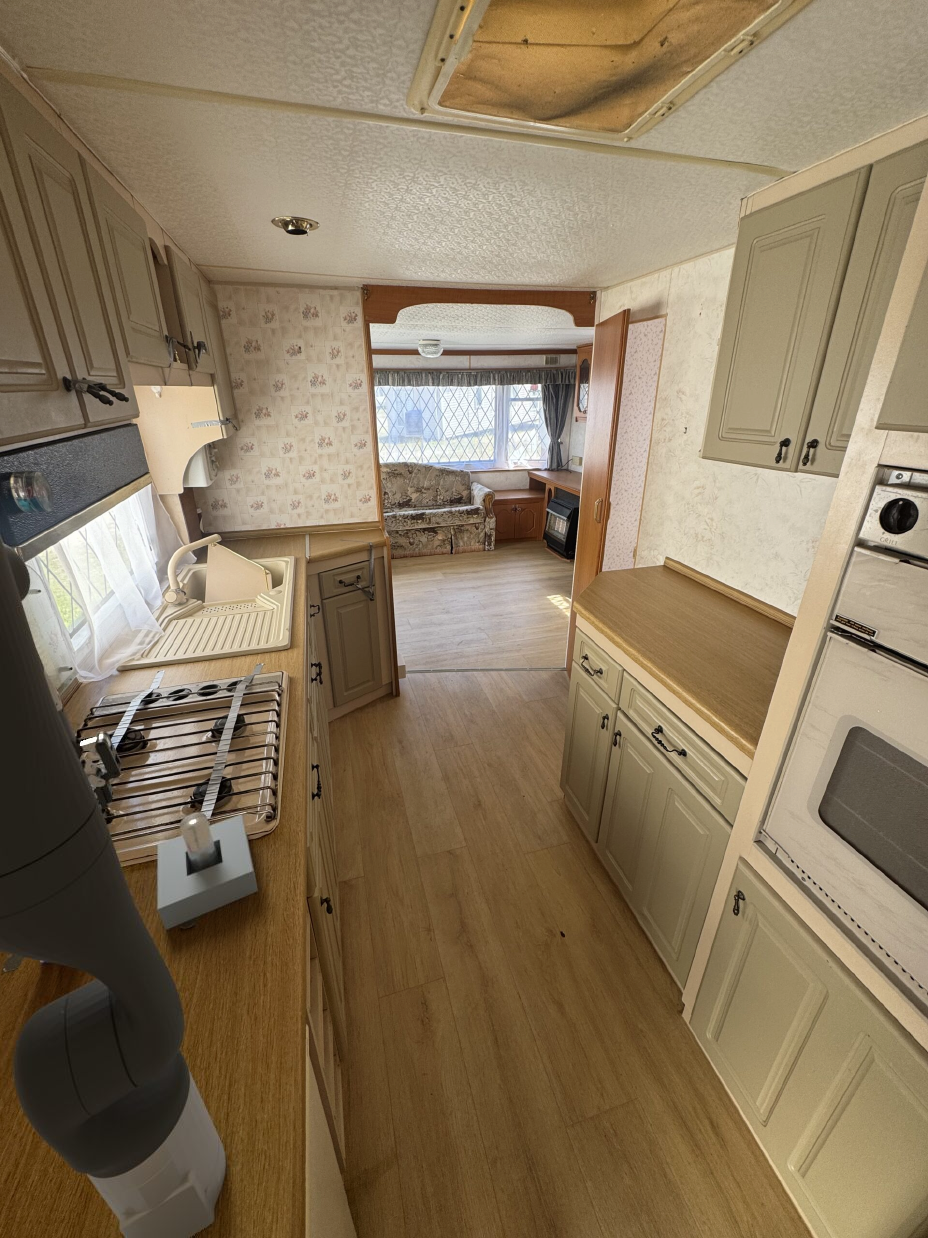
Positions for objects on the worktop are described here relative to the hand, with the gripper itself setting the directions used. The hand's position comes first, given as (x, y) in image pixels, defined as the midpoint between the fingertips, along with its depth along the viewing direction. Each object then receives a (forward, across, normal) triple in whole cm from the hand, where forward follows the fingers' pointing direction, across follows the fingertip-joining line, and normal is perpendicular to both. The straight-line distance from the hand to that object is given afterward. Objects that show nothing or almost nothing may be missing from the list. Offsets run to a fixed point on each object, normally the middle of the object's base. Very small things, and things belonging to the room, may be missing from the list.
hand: (67, 816), depth 65 cm
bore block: (+28, +12, +8) cm, 32 cm away
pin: (+27, +12, +8) cm, 30 cm away
